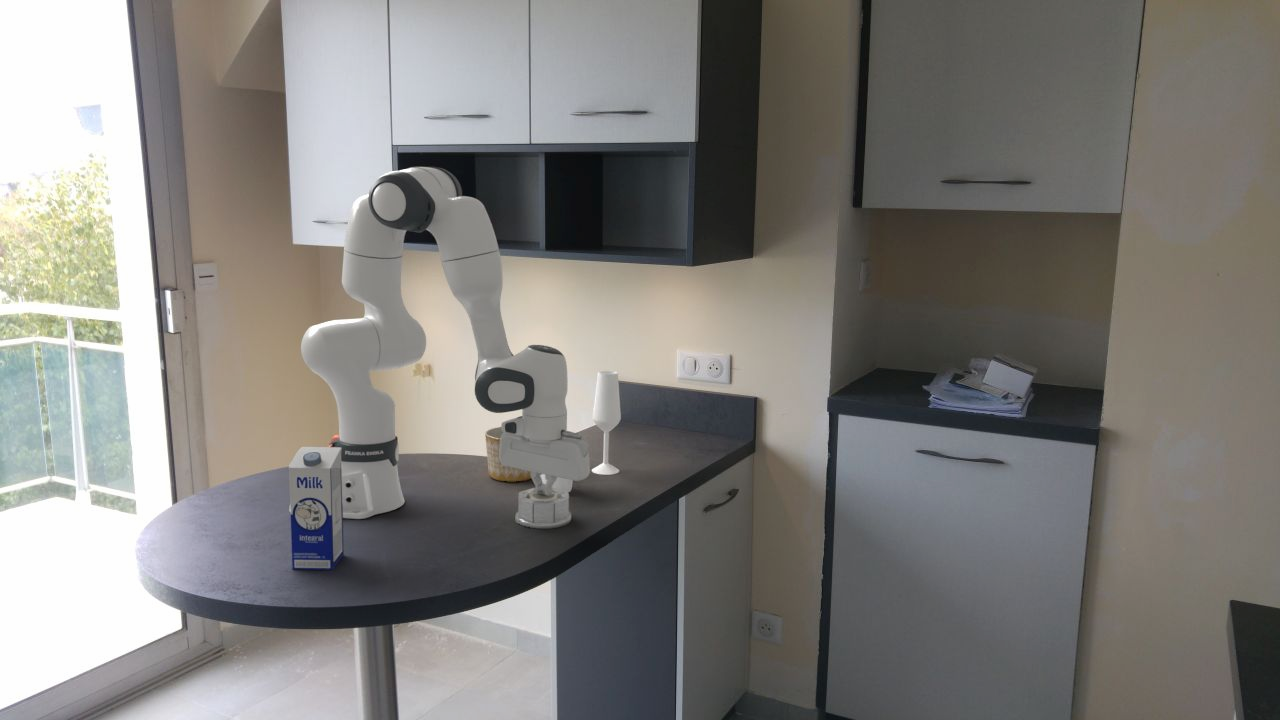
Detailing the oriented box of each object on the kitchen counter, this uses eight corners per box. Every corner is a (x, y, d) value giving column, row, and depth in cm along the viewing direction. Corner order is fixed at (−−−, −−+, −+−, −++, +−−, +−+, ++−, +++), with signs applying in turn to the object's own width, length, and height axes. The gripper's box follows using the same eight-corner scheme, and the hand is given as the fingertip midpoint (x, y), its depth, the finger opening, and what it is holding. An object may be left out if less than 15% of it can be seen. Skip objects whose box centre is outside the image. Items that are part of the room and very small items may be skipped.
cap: (536, 520, 178) (537, 500, 178) (525, 512, 183) (525, 492, 182) (561, 516, 181) (562, 496, 181) (549, 508, 186) (549, 488, 185)
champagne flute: (609, 476, 213) (611, 376, 209) (585, 471, 216) (587, 372, 212) (624, 469, 218) (627, 372, 214) (601, 465, 222) (603, 368, 218)
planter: (531, 486, 204) (531, 441, 202) (477, 481, 206) (477, 437, 204) (545, 470, 216) (546, 427, 214) (495, 466, 218) (495, 424, 216)
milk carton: (344, 555, 161) (342, 446, 157) (333, 570, 154) (330, 456, 151) (304, 554, 160) (300, 445, 157) (291, 569, 154) (287, 455, 151)
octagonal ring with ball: (514, 529, 176) (514, 504, 175) (516, 510, 187) (516, 487, 186) (572, 528, 177) (572, 504, 177) (570, 509, 188) (570, 486, 188)
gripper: (597, 431, 177) (595, 499, 179) (514, 416, 187) (513, 481, 189) (578, 438, 171) (577, 508, 174) (494, 422, 181) (494, 488, 184)
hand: (543, 493), depth 181 cm, fingers closed
